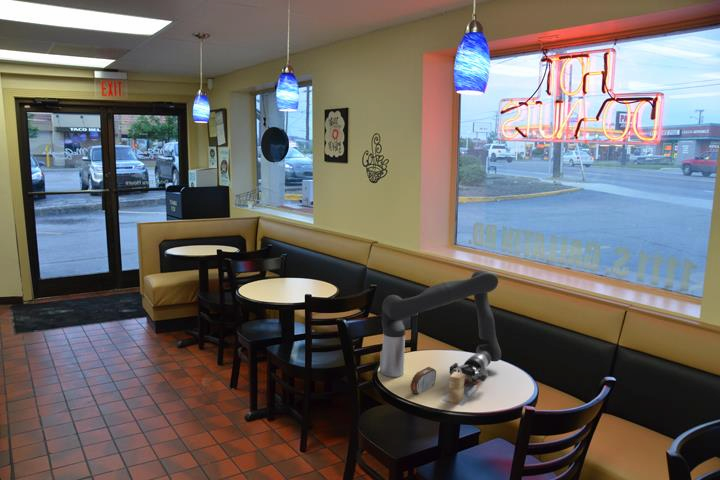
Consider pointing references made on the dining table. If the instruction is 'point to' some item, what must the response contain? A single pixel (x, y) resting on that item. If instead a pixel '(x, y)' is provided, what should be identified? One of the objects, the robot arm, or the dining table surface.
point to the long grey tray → (466, 391)
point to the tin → (423, 380)
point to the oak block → (456, 387)
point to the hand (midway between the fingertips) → (462, 378)
